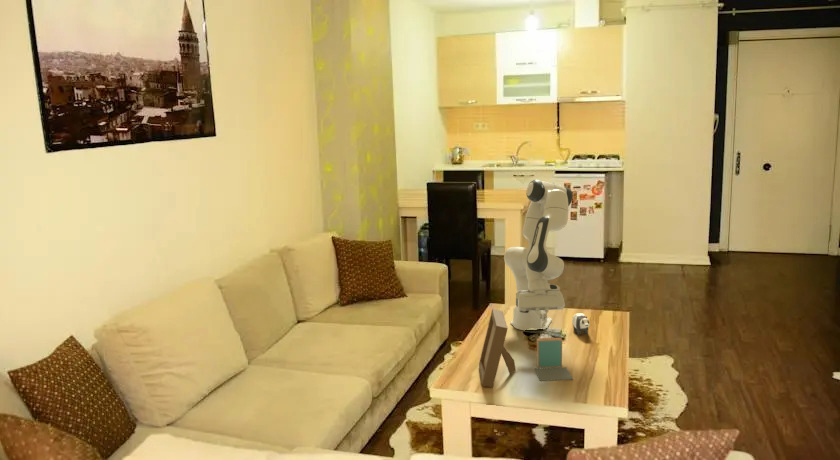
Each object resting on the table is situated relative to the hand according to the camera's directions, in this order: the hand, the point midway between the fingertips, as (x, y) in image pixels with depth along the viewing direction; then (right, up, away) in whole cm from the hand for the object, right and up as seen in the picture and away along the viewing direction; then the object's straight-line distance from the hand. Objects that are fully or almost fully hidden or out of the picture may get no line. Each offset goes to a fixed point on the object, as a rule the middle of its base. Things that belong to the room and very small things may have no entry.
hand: (543, 318), depth 297 cm
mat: (+1, -20, -19) cm, 27 cm away
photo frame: (-21, -21, -19) cm, 35 cm away
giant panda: (+23, -11, +28) cm, 38 cm away
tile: (+1, -19, -10) cm, 21 cm away
